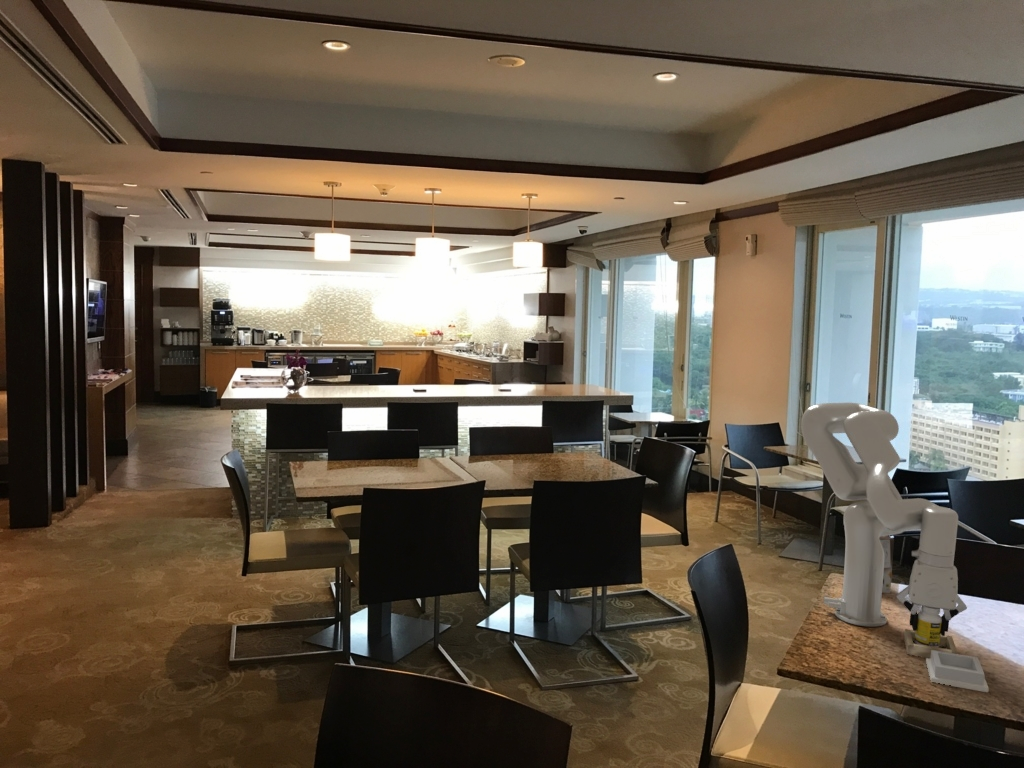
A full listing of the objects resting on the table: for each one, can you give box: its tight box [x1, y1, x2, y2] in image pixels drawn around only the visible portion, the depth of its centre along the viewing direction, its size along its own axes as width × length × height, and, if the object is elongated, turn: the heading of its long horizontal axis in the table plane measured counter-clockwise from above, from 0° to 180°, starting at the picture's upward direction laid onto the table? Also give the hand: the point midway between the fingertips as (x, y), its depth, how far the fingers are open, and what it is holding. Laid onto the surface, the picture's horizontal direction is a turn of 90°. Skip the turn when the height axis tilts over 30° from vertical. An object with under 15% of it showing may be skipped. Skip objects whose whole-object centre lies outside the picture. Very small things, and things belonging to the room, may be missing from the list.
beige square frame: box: [903, 628, 959, 659], centre depth 193 cm, size 10×10×2 cm
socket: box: [925, 650, 989, 693], centre depth 179 cm, size 11×11×4 cm
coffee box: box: [879, 535, 895, 594], centre depth 236 cm, size 9×6×16 cm
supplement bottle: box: [914, 606, 942, 648], centre depth 193 cm, size 5×5×10 cm
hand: (928, 630), depth 194 cm, fingers closed on supplement bottle, 5 cm apart
